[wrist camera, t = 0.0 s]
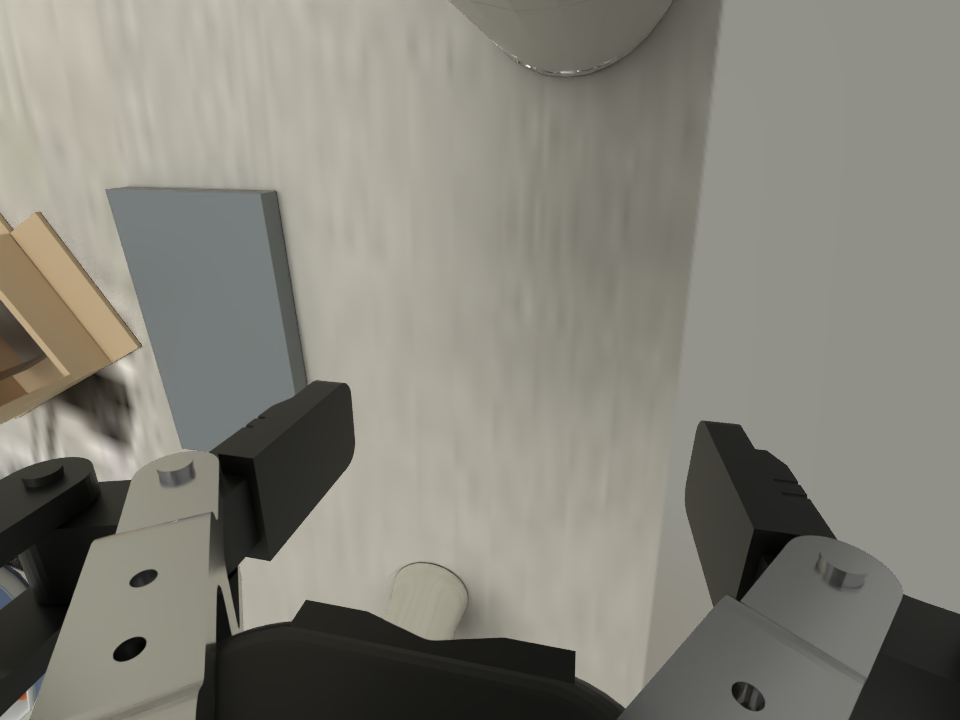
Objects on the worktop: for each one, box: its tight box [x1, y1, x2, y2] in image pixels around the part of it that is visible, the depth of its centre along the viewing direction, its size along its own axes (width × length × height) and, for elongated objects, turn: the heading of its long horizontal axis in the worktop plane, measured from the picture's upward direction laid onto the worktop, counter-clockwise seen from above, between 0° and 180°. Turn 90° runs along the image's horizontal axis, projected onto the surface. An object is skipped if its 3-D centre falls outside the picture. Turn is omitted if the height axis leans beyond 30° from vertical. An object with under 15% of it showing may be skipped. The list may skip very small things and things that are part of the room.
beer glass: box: [383, 563, 468, 640], centre depth 33 cm, size 7×7×15 cm
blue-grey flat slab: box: [105, 187, 307, 452], centre depth 32 cm, size 18×10×2 cm, turn 0°
